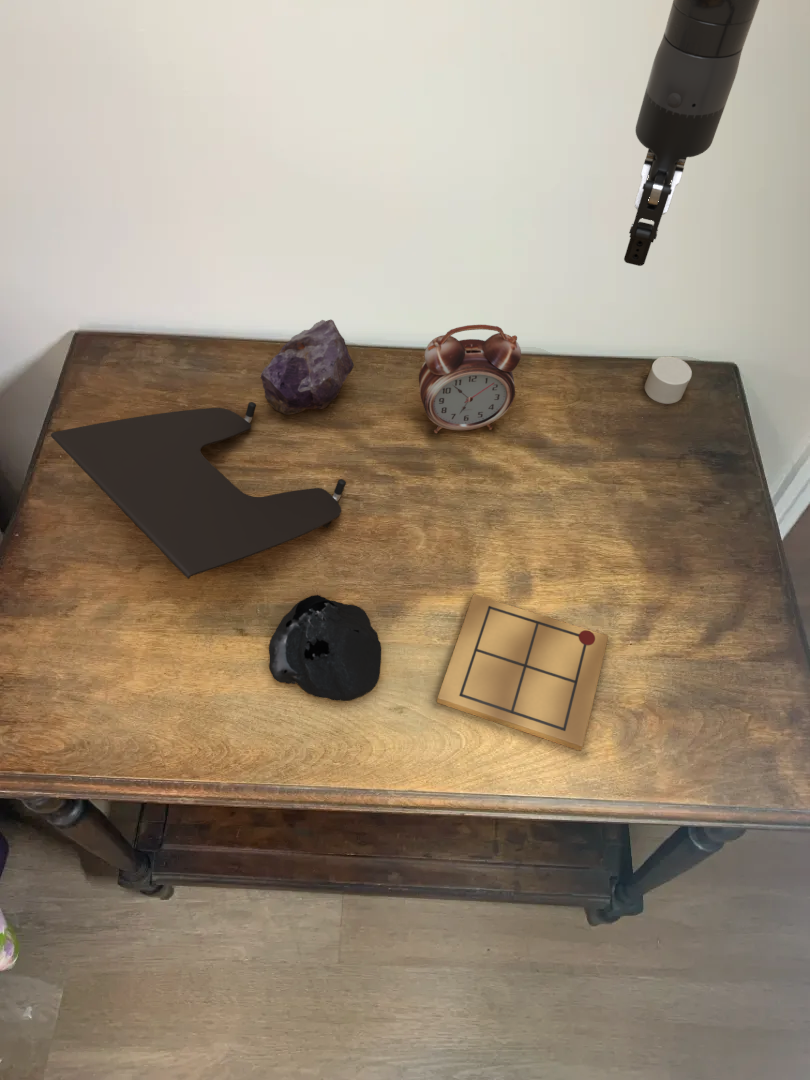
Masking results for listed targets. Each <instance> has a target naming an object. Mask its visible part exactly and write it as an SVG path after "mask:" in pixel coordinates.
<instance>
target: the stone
mask: <svg viewBox="0 0 810 1080" xmlns="http://www.w3.org/2000/svg"><path fill="white" fill-rule="evenodd" d="M692 376H693V372H692V369H691V366H690V365H689V364H688V363H687V362H686V361H685V360H683V359H681V358H679V357H676V356H670V355H669V356H668V355H667V356H665V355H664V356H661V357H658V358H656V359H655V360H654V361H653V363H652V365H651V367H650V370H649V373H648V374H647V378H646V380H645V383H644V391H645V393H646V395H647V396H648V397H649V398H650V399H651V400H653V401H654V402H657V403H658V404H659V403H660V404H666V405H667V404H669V405H671V404H672V405H673V404H675V403H678V402H679V401H681V399H682V398H683V396H684V395H685V392H686V390H687V387H688V386H689V383H690V381H691V379H692Z"/></svg>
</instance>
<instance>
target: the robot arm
mask: <svg viewBox="0 0 810 1080" xmlns="http://www.w3.org/2000/svg"><path fill="white" fill-rule="evenodd" d="M759 3H760V0H673V1H672V3H671V8H670V11H669V15H668V19H667V22H666V26H665V29H664V32H663V36H662V39H661V41H660V43H659V46H658V48H657V50H656V53H655V56H654V59H653V62H652V66H651V69H650V72H649V77H648V81H647V84H646V88H645V91H644V95H643V99H642V102H641V106H640V110H639V112H638V113H639V114H638V117H637V120H636V123H635V136H636V138H637V140H638V141H639V143H640V144H641V145H642V146H643V147H644V148H646V149H648V150H647V153H646V156H645V159H644V162H643V165H642V169H641V172H640V178H641V180H640V184H639V187H638V191H637V193H636V197H635V201H634V208H635V209H636V214H635V218H634V221H633V223H632V224H631V226H630V229H629V232H628V234H629V240H628V245H627V247H626V251H625V254H624V257H623V261H624V263H626V264H630V265H634V266H638V267H642V266H644V265H645V263H646V261H647V258H648V255H649V251H650V247H651V244H653V243H654V241H655V240H656V239H657V236H658V232H659V229H658V228H659V225H660V223H661V219H662V217H663V215H666V214H667V212H668V211H669V208H670V205H671V202H672V199H673V196H674V193H675V190H676V187H677V186H678V185H679V184H680V182H681V179H682V176H683V173H684V170H685V165H686V161H687V159H688V158H693V157H697V156H700V155H701V154H703V153H705V152H706V151H707V150H708V149H709V148H710V147H711V145H712V144H713V141H714V139H715V138H714V137H715V136H716V133H717V130H718V127H719V124H720V123H721V118H722V116H723V113H724V110H725V108H726V105H727V102H728V100H729V96H730V94H731V91H732V88H733V85H734V82H735V80H736V77H737V74H738V69H739V67H740V61H741V56H742V53H743V49H744V46H745V44H746V40H747V38H748V35H749V32H750V29H751V26H752V23H753V21H754V18H755V15H756V12H757V9H758V6H759ZM648 175H649V178H648ZM647 178H648V180H647ZM671 180H672V182H671ZM670 183H671V184H670ZM649 197H650V198H649ZM648 199H649V201H648ZM658 201H659V202H658ZM642 218H643V220H647V221H651V220H652V221H651V222H653V224H652V223H648V222H643V221H640V220H641V219H642Z"/></svg>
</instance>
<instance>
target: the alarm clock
mask: <svg viewBox="0 0 810 1080" xmlns="http://www.w3.org/2000/svg"><path fill="white" fill-rule="evenodd" d="M476 330H477V331H478V330H483V331H484V330H487V331H494V332H497V333H494V334H492V335H490V336H489V337H488V338H487V339H485V340H483V339H474V338H466V339H460V340H458V339H457V338H456V337H454V336H453V335H454V334H457V333H462V332H466V331H467V332H468V331H476ZM517 341H518V336H517V335H512V336H511V335H510V334H507V333H504V331H503V329H502V328H501V327H499V326H497V325H490V324H469V325H462V326H458V327H455V328H452V329H450V330H448V331H447V332H446V333H445V334H442V335H439V336H437V337H435V338H433V339H432V340H431V341H430V342H429V343H428V344H427V346H426V348H425V351H424V362H423V363H422V365H421V367H420V370H419V374H418V384H419V385H418V386H419V387H418V388H419V396H420V400H421V403H422V406H423V409H424V411H425V414H426V416H427V418H428V419H429V420H430V421H431V422H432V423H434V424H435V425H437V427H436V428H434V430H433V432H434V434H438V433H439V432H440V431H441V430H442V429H446V430H451V431H470V430H476V429H481V428H483V427H485V426H486V427H487V429H488V430H490V431H491V430H493V428H494V427H493V425H491V423H494V422H495V421H498V419H500V418H501V417H503V416H505V414H506V413H507V412H508V411H509V409H510V408H511V406H512V404H513V403H514V401H515V395H516V386H515V380H514V379H515V378H514V373H513V371H514V370H515V369H516V368H517V366H518V365H519V364H520V361H521V358H522V349H521V346H520V344H519V343H518V342H517Z"/></svg>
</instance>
